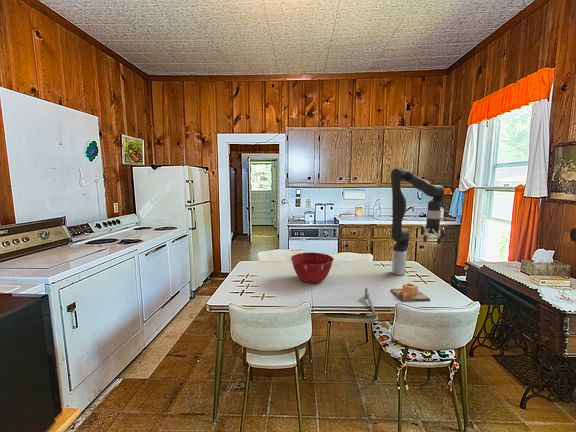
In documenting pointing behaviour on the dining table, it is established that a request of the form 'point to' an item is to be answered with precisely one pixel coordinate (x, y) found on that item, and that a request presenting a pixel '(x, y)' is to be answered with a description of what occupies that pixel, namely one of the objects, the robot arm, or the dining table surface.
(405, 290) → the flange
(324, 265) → the mixing bowl
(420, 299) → the post board
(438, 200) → the robot arm
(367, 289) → the caliper
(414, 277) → the dining table surface
